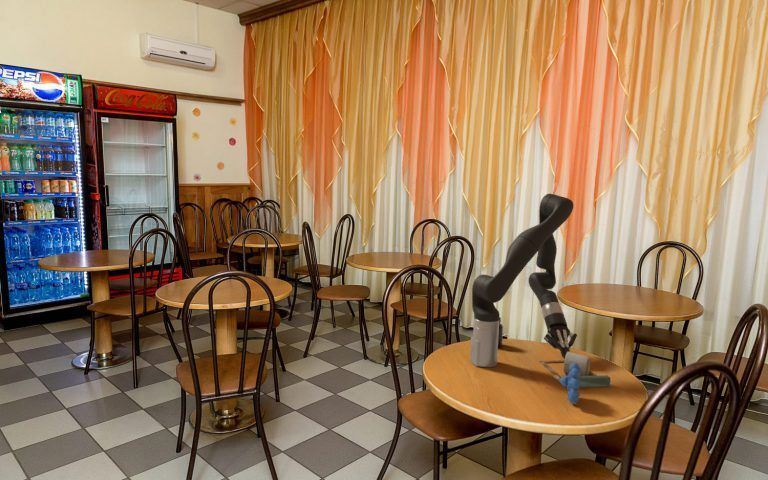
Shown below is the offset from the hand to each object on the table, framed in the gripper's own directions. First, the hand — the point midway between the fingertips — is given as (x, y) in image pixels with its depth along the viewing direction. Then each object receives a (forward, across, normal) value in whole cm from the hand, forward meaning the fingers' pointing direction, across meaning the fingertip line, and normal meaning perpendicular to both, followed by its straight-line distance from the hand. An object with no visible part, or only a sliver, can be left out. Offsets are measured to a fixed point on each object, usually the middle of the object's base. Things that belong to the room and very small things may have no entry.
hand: (567, 358), depth 180 cm
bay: (+6, 0, 0) cm, 6 cm away
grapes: (+20, -12, -15) cm, 28 cm away
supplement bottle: (-16, -18, +22) cm, 33 cm away
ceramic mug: (+6, +1, 0) cm, 6 cm away
